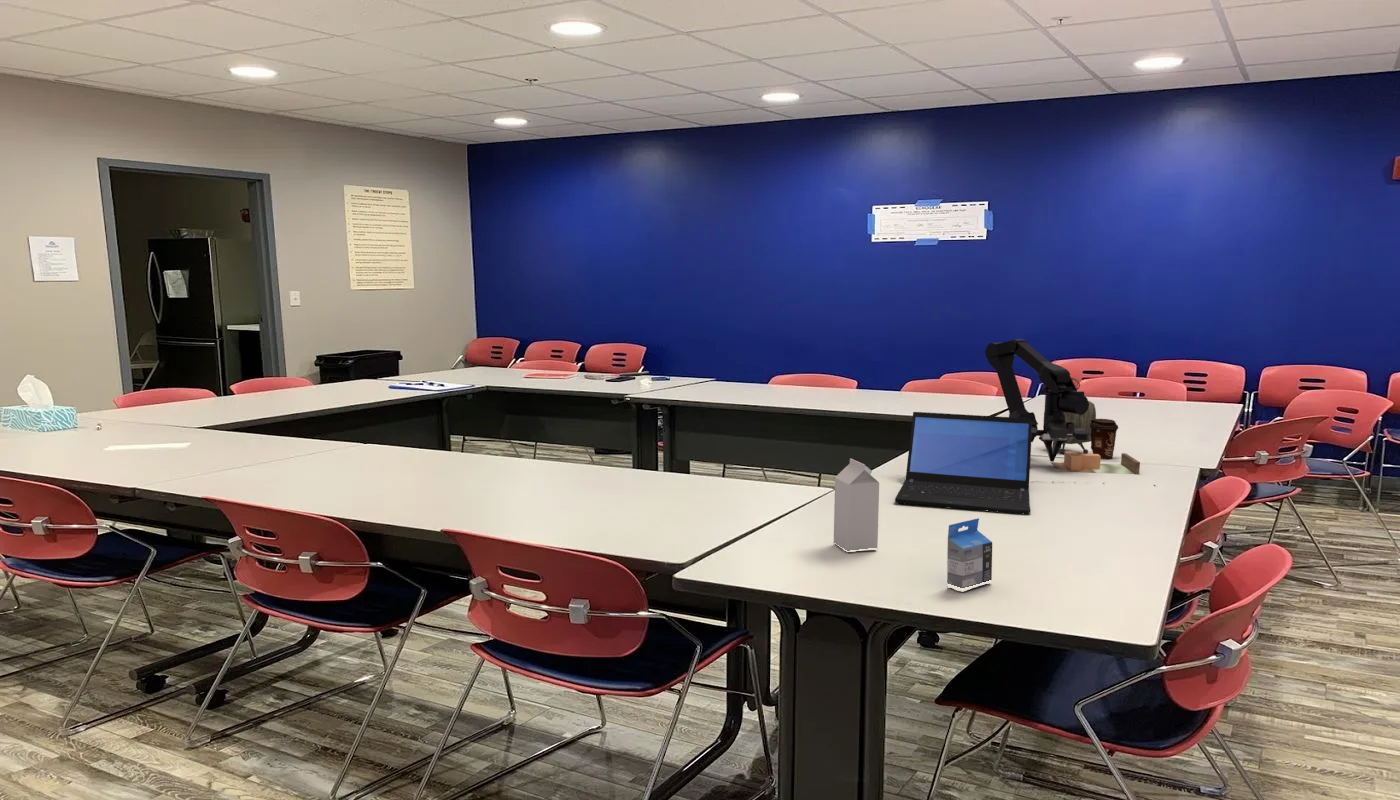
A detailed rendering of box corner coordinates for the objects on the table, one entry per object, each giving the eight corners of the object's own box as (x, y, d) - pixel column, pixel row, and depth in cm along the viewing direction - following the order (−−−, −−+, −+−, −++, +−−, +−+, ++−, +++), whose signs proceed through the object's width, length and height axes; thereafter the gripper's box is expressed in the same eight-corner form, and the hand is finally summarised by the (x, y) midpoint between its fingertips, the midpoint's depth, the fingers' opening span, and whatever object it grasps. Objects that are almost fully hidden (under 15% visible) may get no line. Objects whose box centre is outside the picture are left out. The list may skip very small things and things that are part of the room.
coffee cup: (1081, 459, 303) (1083, 418, 301) (1099, 456, 306) (1102, 417, 304) (1102, 464, 295) (1105, 422, 293) (1122, 461, 298) (1124, 421, 296)
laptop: (893, 506, 242) (895, 431, 240) (910, 476, 277) (912, 411, 275) (1030, 517, 232) (1034, 439, 229) (1029, 485, 267) (1033, 417, 264)
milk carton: (847, 553, 200) (849, 465, 197) (833, 544, 206) (835, 459, 204) (877, 551, 202) (880, 464, 199) (862, 542, 208) (865, 457, 206)
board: (1060, 474, 278) (1061, 459, 278) (1049, 465, 292) (1050, 451, 292) (1139, 477, 275) (1139, 462, 275) (1124, 467, 289) (1125, 453, 288)
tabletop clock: (1094, 455, 309) (1098, 379, 306) (1075, 457, 305) (1080, 380, 302) (1057, 447, 322) (1061, 374, 318) (1039, 450, 317) (1043, 376, 314)
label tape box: (962, 593, 175) (965, 529, 174) (944, 587, 178) (947, 524, 177) (992, 584, 180) (995, 522, 179) (974, 579, 184) (977, 517, 182)
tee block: (1070, 470, 280) (1071, 457, 280) (1063, 464, 289) (1064, 451, 289) (1102, 471, 279) (1103, 457, 278) (1094, 465, 288) (1095, 452, 287)
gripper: (1027, 413, 277) (1024, 465, 279) (1094, 415, 274) (1091, 467, 276) (1020, 408, 287) (1017, 458, 290) (1084, 409, 285) (1081, 460, 287)
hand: (1051, 461), depth 285 cm, fingers closed
